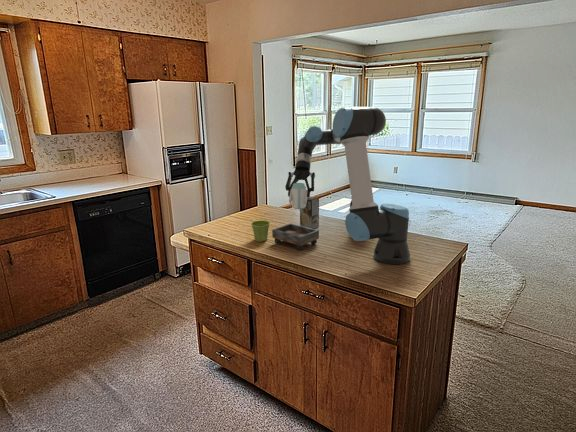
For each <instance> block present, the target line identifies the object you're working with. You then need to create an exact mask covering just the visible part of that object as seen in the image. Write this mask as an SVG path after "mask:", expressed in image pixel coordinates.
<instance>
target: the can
mask: <svg viewBox="0 0 576 432" xmlns="http://www.w3.org/2000/svg"><path fill="white" fill-rule="evenodd" d="M306 190H307V186H306V183H303V182H297V183H294V184H293V186H292V202H291V207H292V208H293V209H295V210H300V209H303V208H305V207H306V204H305V202H304V200H305V193H306Z"/></svg>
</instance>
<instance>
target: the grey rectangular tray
mask: <svg viewBox="0 0 576 432" xmlns="http://www.w3.org/2000/svg"><path fill="white" fill-rule="evenodd" d="M271 230H272V231H271V232H272V237H271V238H274V242H275V244H276V245H278V244H279V245H280V244H281V242H282V241H283V242H286V243H290V244H292V245H295V246H296V249H297V251H299V252H300V251H302V250H304V246H305V245H308V244H311V245H317V243H318V241H317V240H319V237H320V230H319V229H316V228H314V229H311V228H307V227H303V226H300V224H295V223H292V222H290V223H288V224H284V225H282V226H279V227H276V228H272V229H271Z"/></svg>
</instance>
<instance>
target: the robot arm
mask: <svg viewBox="0 0 576 432" xmlns="http://www.w3.org/2000/svg"><path fill="white" fill-rule="evenodd" d="M386 122H387V119H386V115H385V113H384V111H383V110H381V109H380V108H378V107H376V106H345V107H341V108H339V109H337V111H336V112H335V114H334V117H333V119H332V129H321V128H320V127H319V126H317V125H312V126H310V127H309V128H308V129H307V130H306V132H305V135H304V136H303V137H301V138H300V139H299V141H298V148H297V149H298V150H297V155H296V162H295V169H294V171H293V172H291V171H288V172H287V173H288V176H287V179H286V180H287V181H286V184H285V191H288V192H287V197H288V198H289V199H288V202H289V204H292V186H293V184H294V183H299V181H301V180H302V181H304V182H305V183H304V184H305V186H306V193H305V200H304V202H305V204H307V197H308V198H309V197H311V193H312V192H314V191H315V178H316V174H315V172H311V164H312V156H313V151H314V149H315V148H316V146H323V145H325V146H326V145H342V146H343V147H344V151H345V158H346V166H347V173H348V180H349V181H348V182H349V188H350V195H351V200H352V206H351V207H350V206H349V209H348V210H349V211H348V212H349V213H347V215H346V216H345V219H344V225H345V228H346V231H347V234H348V235H349V236H350V238H351V239H353V240H354V241H356V242H362V241H366V242H367V241H369V240H375V239H378V241H377V242H376V245H375V248H374V250H373V258H374V260H376V261H378V262H379V263H383V264H388V265H403V264H406V263H408V262H410V260H411V252H410V248H409V244H408V232H409V231H408V230H409V221H410V211H409V208H407V207H405V206H403V205H399V204H393V203H382V204H381V205H380V207H379V205H378V203H376V202H375V201H374V194H373V187H372V180H371V172H370V163H369V157H368V149H367V141H368V140H369V139H370V136H374V135H378V134H380V133H381V132H382V131H383V130H384V128H385V127H386V124H387V123H386ZM293 177H294V178H293ZM309 177H310V178H311V180H310V181H311V182H310V184H309V181H308V178H309ZM292 178H293V180H292Z"/></svg>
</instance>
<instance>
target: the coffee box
mask: <svg viewBox="0 0 576 432" xmlns="http://www.w3.org/2000/svg"><path fill="white" fill-rule="evenodd" d="M299 226H303V227H307V228H311V229H316V228H319V226H320V198H319V197H314V196H310V197H309V198H308V197H307V204H306V207H305V208H303V209H299Z"/></svg>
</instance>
